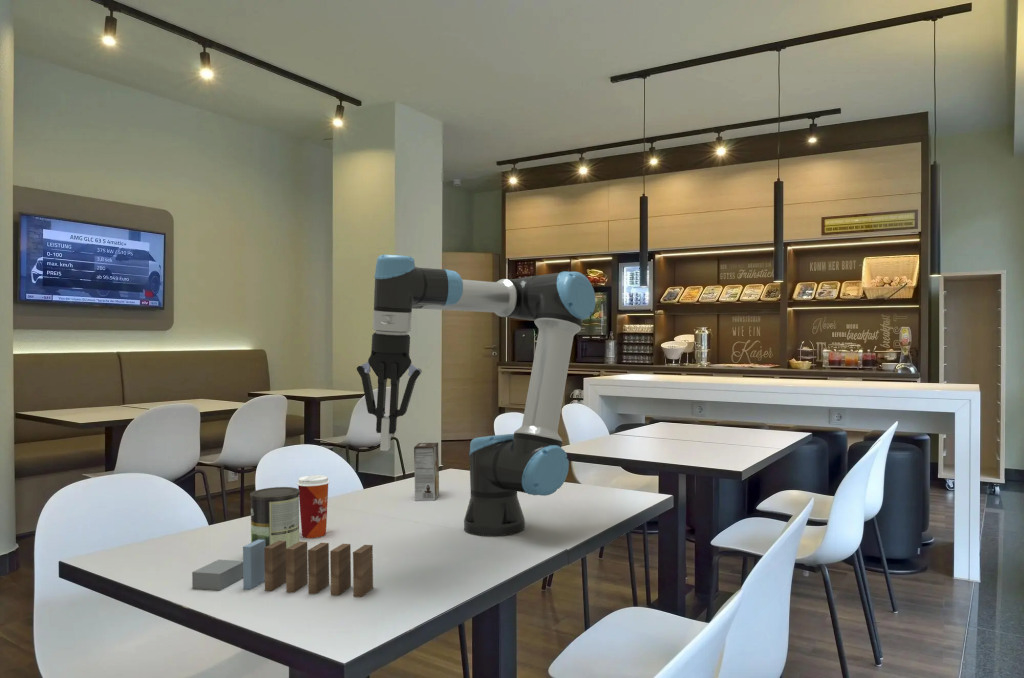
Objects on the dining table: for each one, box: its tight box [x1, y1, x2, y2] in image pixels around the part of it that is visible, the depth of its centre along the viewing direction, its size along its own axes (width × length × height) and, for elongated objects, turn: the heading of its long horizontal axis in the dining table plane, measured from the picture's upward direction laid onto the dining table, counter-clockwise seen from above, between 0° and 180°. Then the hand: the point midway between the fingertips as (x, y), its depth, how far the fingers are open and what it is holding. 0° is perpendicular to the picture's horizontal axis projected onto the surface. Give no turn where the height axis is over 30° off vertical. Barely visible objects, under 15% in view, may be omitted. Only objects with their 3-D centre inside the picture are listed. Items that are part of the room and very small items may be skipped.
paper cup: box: [296, 474, 331, 539], centre depth 170 cm, size 8×8×14 cm
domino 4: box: [307, 542, 330, 595], centre depth 131 cm, size 2×5×8 cm, turn 167°
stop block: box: [191, 559, 243, 591], centre depth 136 cm, size 6×8×3 cm
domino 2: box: [264, 541, 286, 592], centre depth 133 cm, size 2×5×8 cm, turn 167°
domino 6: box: [352, 544, 374, 598], centre depth 129 cm, size 2×5×8 cm, turn 167°
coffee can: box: [249, 486, 300, 549], centre depth 153 cm, size 10×10×14 cm
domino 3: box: [285, 541, 308, 593], centre depth 132 cm, size 2×5×8 cm, turn 167°
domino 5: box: [329, 543, 352, 596], centre depth 130 cm, size 2×5×8 cm, turn 167°
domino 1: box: [242, 540, 266, 590], centre depth 134 cm, size 2×5×8 cm, turn 167°
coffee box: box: [413, 442, 440, 502], centre depth 211 cm, size 9×6×16 cm
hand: (385, 449), depth 141 cm, fingers closed
